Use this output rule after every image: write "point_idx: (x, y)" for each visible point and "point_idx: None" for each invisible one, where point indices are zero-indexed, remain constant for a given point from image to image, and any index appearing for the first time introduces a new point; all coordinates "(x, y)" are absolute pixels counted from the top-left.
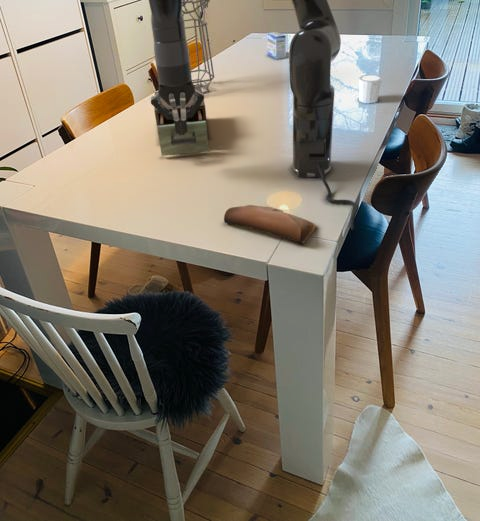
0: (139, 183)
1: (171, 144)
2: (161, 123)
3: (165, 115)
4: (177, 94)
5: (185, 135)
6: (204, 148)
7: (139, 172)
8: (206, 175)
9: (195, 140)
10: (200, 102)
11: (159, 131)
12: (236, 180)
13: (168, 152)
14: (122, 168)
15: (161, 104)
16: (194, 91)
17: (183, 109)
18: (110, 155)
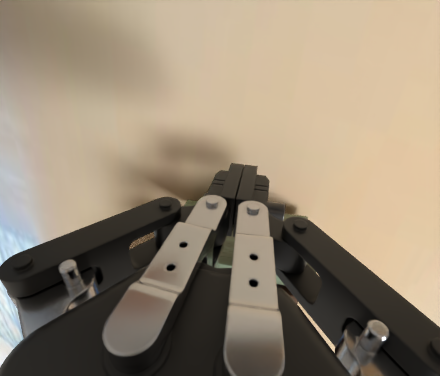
0: (420, 89)
1: (283, 203)
2: (294, 299)
3: (319, 237)
4: (187, 355)
5: (232, 239)
6: (195, 204)
7: (391, 162)
8: (204, 77)
9: (205, 195)
10: (59, 241)
11: (310, 267)
12: (119, 11)
13: (288, 217)
14: (429, 201)
15: (337, 323)
16: (32, 333)
17: (190, 229)
18: (428, 273)
